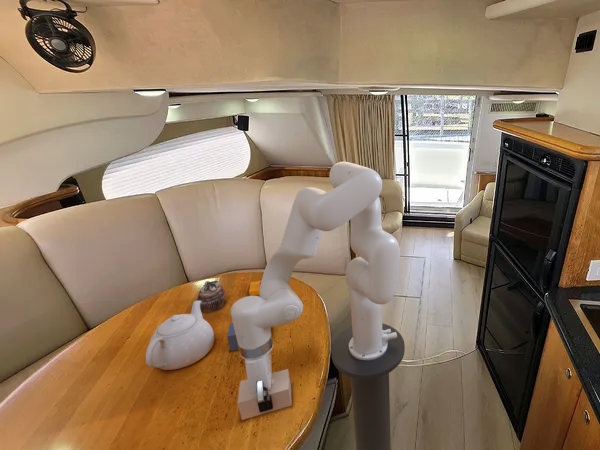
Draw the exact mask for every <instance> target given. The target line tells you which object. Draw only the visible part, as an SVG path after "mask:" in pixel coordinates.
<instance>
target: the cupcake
mask: <svg viewBox="0 0 600 450" xmlns="http://www.w3.org/2000/svg"><path fill="white" fill-rule="evenodd" d="M225 291H226V290H225V289H224V287H223V285H222V284H221V282H220V281H218V280H213V281H209V280H208V281H207V280H206V281H205V282H204V284H203V285H202V287H201V288H200V290H199V291H198V294H197V296H196V301H202V302H201V304H200V309H201V311H203V312H205V313H211V312H214V311H215V312H216V311H219V310H220V309H222V308H224V305H225V295H226V292H225Z"/></svg>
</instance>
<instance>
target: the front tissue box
mask: <svg viewBox="0 0 600 450" xmlns="http://www.w3.org/2000/svg"><path fill="white" fill-rule="evenodd" d="M263 387H265V386H264V385H263ZM266 395H267V394H266V391H264V396H266ZM269 395H270V396H271V399H272V404H273V409H271V410H268V411H264V412H259V408H258V403H257V394H256V392H255V394H252V395H251V394H250V392H249V386H248V380H247V378H246V379H243V380H240V382H239V389H238V395H237V401H236V402H237V403H236V404H237V407H238V411H239V415H240V418H241V420H242V421H244V420H247V419H251V418H253V417H258V416H261V415H264V414H267V413H271V412H275V411H278V410H281V409H285V408H288V407H291V406H292V403H293V401H292V384H291V378H290V372H289V368H286V369H281V370H278V371H274V372H272V374H271V388H270V389H269Z"/></svg>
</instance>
